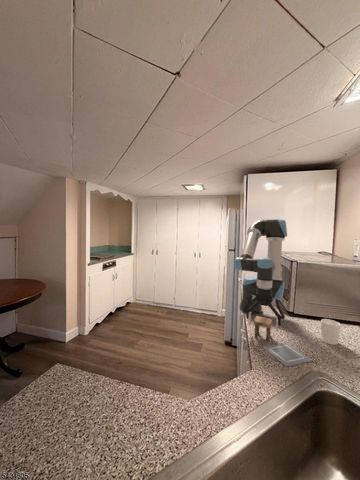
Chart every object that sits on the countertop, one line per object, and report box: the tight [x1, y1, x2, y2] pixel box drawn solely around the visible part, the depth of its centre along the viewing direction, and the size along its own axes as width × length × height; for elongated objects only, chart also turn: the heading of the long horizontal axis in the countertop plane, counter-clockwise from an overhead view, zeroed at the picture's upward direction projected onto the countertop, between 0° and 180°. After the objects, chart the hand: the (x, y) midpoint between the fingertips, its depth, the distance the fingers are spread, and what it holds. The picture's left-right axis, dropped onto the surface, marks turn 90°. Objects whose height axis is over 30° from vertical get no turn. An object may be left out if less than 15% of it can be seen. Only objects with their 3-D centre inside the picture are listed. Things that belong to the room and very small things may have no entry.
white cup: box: [320, 318, 341, 346], centre depth 103 cm, size 8×8×10 cm
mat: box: [262, 342, 313, 367], centre depth 92 cm, size 14×14×1 cm
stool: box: [253, 315, 273, 342], centre depth 107 cm, size 8×8×9 cm
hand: (262, 327), depth 107 cm, fingers open, 13 cm apart
